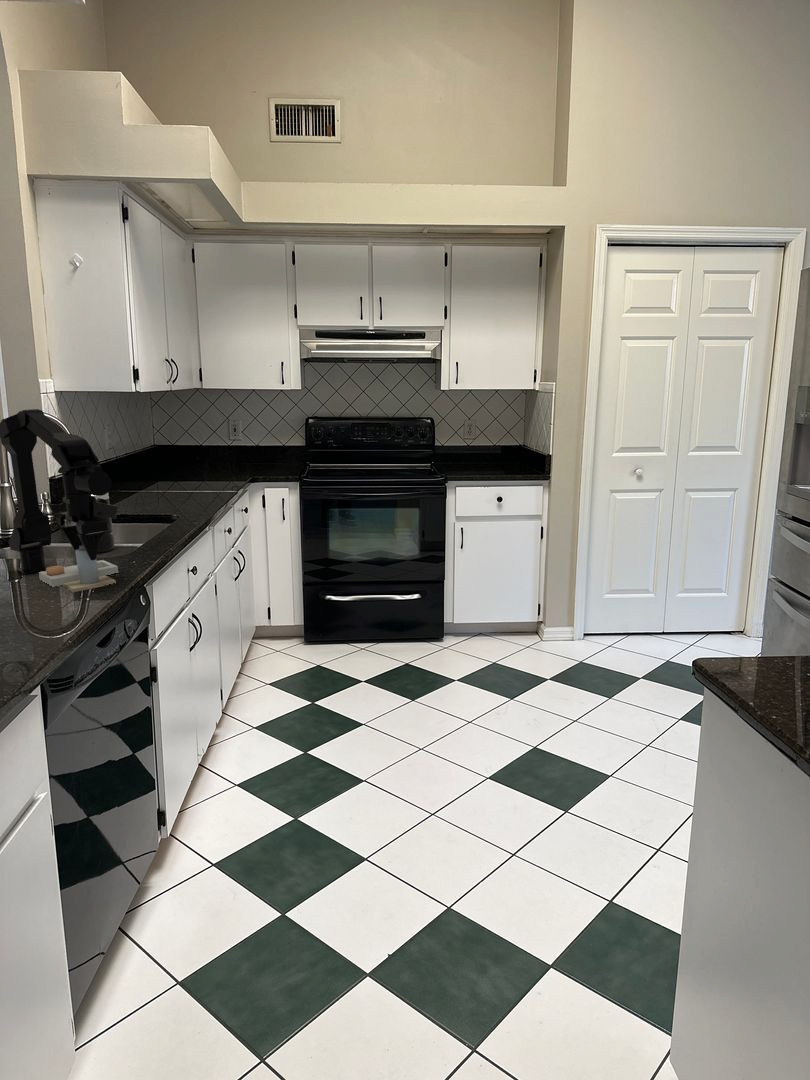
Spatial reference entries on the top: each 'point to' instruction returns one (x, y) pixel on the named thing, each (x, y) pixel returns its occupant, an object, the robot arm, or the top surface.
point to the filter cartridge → (86, 567)
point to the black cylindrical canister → (107, 539)
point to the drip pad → (76, 585)
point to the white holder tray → (76, 573)
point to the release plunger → (55, 570)
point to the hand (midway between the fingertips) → (86, 557)
